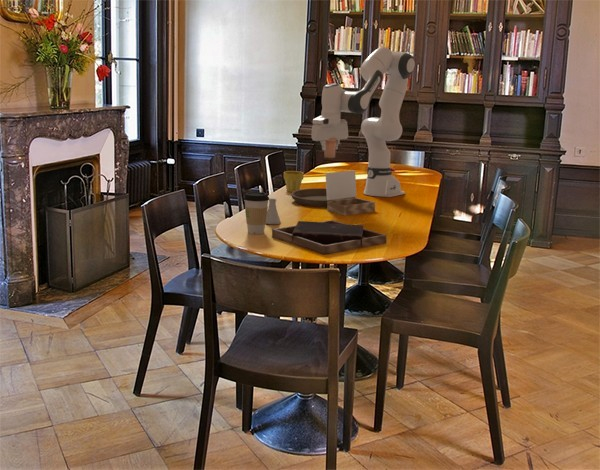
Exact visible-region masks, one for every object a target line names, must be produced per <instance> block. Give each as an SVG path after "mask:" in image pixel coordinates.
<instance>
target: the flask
mask: <svg viewBox="0 0 600 470" xmlns="http://www.w3.org/2000/svg"><path fill="white" fill-rule="evenodd" d="M276 202H277V199H276V198H269V200H268V209H267V216H266V224H265V225H271V226H272V225H280V224H281V223H282V222H281V219H280V216H279V212H278V209H277V205H276Z"/></svg>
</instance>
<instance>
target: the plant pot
mask: <svg viewBox="0 0 600 470" xmlns="http://www.w3.org/2000/svg"><path fill="white" fill-rule="evenodd" d="M283 180H284V182H285V188H286V192H291V193H292V192H293V191H296V190H301V186H302V182H303V180H304V172H303V171H299V170H286V171H284V172H283Z"/></svg>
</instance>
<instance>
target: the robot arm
mask: <svg viewBox="0 0 600 470" xmlns="http://www.w3.org/2000/svg"><path fill="white" fill-rule="evenodd" d="M415 68H416V59H415V56H413V55H412V54H409V53H404V52H401V51H391V49H390V48H388V47H387V46H380V47H378V48H377V49H375V50H373V51H372V52H371V54H369V56H367V57H366V59H364V61H363V62H362V64H361V65H360V75H361V77H362V79H363V80H364V82H365V81H366V83H365V84H364V86H363V88H362V89H360V90H356V91H352V90H351V91H350V90H346V89H343V87H341V84H340V83H336V82H334V83H327V84H326V85H324V86H323V88H322V93H321V107H322V109H321V115H319V116H317V117H315V118H313V119H312V126H311V139H312V141H313V142H314V141H315V142H319V143H320V144H321V150H322V151H325V150H327V146H325V143H326V140H329V139H330V138H337V139H336V144H335V150H338V147H339V144H340V142H341V140H347V139H348V138H349V128H348V121H347V120H346V119H343V118H342V119H341V114H342V112H343V113H353V114H357V115H362V114H364V113H365V112H366V111H367V110H368V108H369V106H370V103H371V101H372V99H373V97H374V96H375V94H376V92H377V91H378V89H379V88H380V86H381V84H382V82H383V79H384V74H387V75H388V78H387V81H386V82H385V85H384V87H383V90H382V92H381V93H382V94H381V96H380V98H379V102H378V106H379V108H380V109H381V110H380V111H381V113H380V117H376V116H373V117H369V118H368V117H367V118H365V119H363V121H362V123H361V125H360V131H361V132H360V133H361V134H362V135H363V136H364V138H365V140H366V141H365V142H366V144H367V147H368V149H367V150H368V162H367V163H368V165H367V168H366V173H367V176H366V181H365V188H364V189H363V194H364V195H366V196H372V197H385V198H391V197H393V198H394V197H396V196H400V195H405V193H406V192H405V191H404V190H402V189H401V185H402V184H401V182H400V181H399V180H398V178H396V177H395V176H394V175H393V173H396V168H395V167H391V154H392V153H391V151H390V149H389V148H388V146H387V143H386V142H392V141H393V142H394V141H398V140H399V139H400V138H401V136H402V134H403V126H402V124H401V122H400V121H401V120H400V111H401V108H402V104H403V101H404V98H405V96H406V92H407V88H408V83H409V77H410V76H411V75H412V74H413V72H414V70H415Z"/></svg>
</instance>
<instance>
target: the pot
mask: <svg viewBox="0 0 600 470" xmlns="http://www.w3.org/2000/svg"><path fill="white" fill-rule="evenodd" d="M336 139H337V138H330V139H329V140H326V143H325V146H327V150H324V154H323V155H324V159H325V158H326V159H334V158H336V149H335V144H336Z"/></svg>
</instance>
